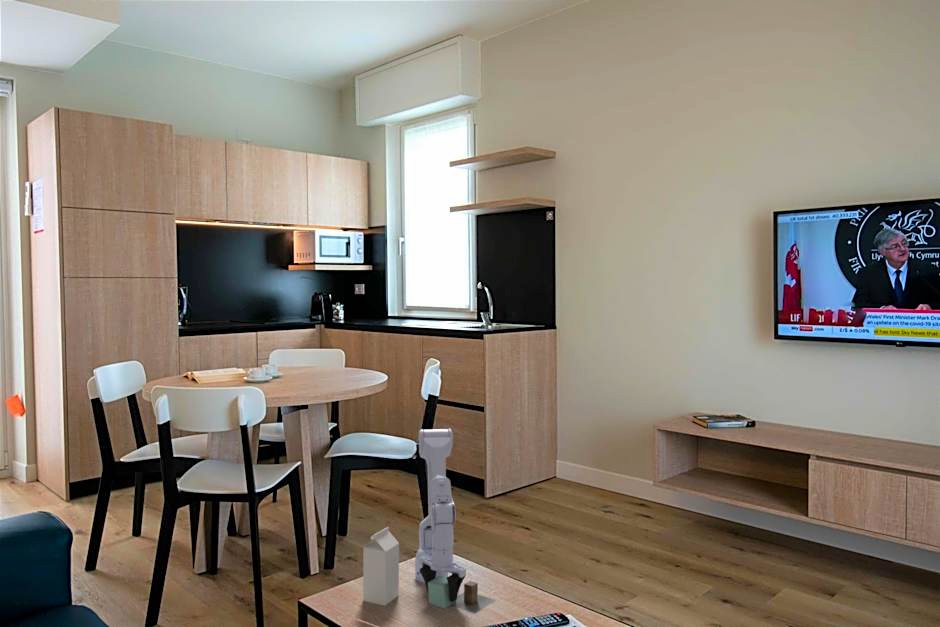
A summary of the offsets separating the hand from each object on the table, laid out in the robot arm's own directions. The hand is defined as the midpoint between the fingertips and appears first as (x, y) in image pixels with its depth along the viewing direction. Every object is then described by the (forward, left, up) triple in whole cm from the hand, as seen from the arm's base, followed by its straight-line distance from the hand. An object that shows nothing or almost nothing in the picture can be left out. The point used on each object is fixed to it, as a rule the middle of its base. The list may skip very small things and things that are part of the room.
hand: (442, 596), depth 184 cm
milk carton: (-15, -8, -2) cm, 17 cm away
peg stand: (+6, +5, -2) cm, 8 cm away
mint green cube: (0, 0, -2) cm, 2 cm away
